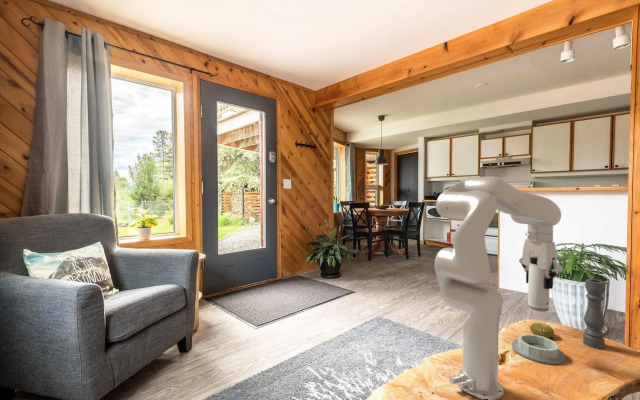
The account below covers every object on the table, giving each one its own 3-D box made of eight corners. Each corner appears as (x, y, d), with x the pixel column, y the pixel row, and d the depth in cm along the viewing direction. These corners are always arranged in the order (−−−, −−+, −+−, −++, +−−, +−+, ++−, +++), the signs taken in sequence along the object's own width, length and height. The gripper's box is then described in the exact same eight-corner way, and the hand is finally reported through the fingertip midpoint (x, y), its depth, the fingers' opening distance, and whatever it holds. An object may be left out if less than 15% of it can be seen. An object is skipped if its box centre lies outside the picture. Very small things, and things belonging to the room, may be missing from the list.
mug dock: (542, 368, 103) (542, 356, 102) (501, 344, 118) (502, 334, 118) (576, 360, 107) (577, 349, 107) (533, 339, 122) (533, 329, 122)
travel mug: (553, 312, 108) (555, 256, 108) (532, 311, 110) (534, 255, 109) (544, 305, 114) (545, 253, 114) (524, 304, 116) (526, 252, 115)
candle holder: (604, 344, 118) (606, 281, 117) (604, 350, 113) (606, 284, 113) (583, 339, 122) (584, 277, 121) (582, 345, 118) (584, 281, 117)
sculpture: (529, 325, 126) (531, 319, 132) (528, 335, 126) (531, 328, 132) (553, 331, 121) (554, 325, 127) (553, 341, 121) (554, 334, 127)
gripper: (511, 234, 118) (510, 279, 119) (556, 241, 102) (555, 294, 102) (525, 233, 120) (525, 278, 121) (573, 240, 104) (571, 292, 104)
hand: (539, 285), depth 112 cm, fingers closed on travel mug, 6 cm apart
